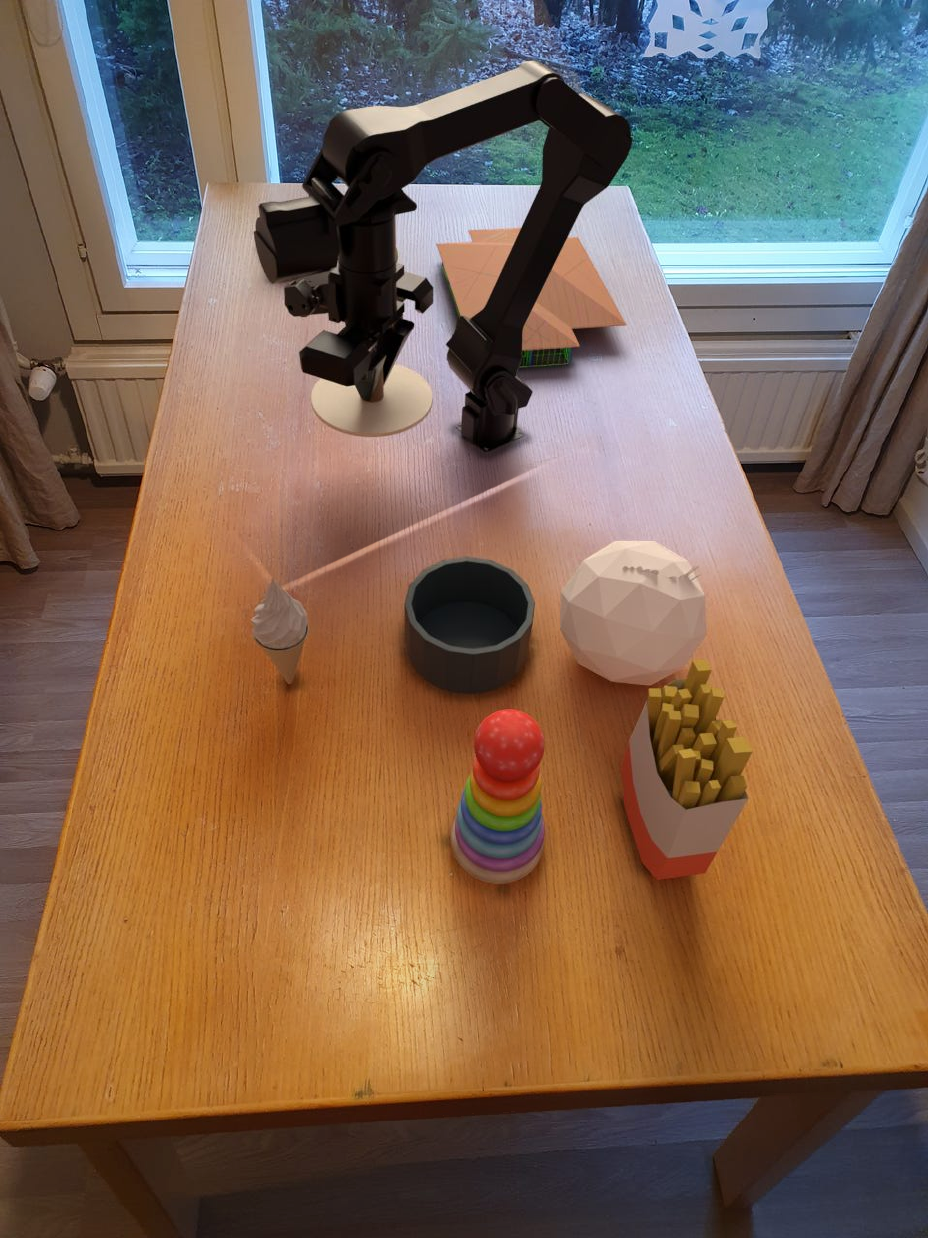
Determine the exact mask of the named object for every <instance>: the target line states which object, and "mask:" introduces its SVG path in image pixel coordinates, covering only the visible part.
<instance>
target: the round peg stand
mask: <svg viewBox="0 0 928 1238" xmlns="http://www.w3.org/2000/svg"><path fill="white" fill-rule="evenodd" d="M433 402H434V396H433V390H432V387H431V386H430V384H429V383H428V381H427V380H426V379H425V378H424V376H422V375H421V374H420V373H418V372H416V371H414V370H413V369H410V368H408V367H406V366H403V365H401V364H398V363H395V364H394V366H393V368H392V370H391V372H390V374H389V376H388V378H387V380H386V382H385V385H383V367H382V370H381V373H380V376H379V379H378V382H377V385H376V388H375V391H374V394H373V396H372V399H371V400H370V401H366V400H363V399H361V397H360V395H359V393H358V391H357V389H356V387H355V385H354V386H348V387H346V386H343V385H340V384H337V383H334V382H331V381H328V380H325V379H322V378H318V380H317V381H316V382H315V384H314V386H313V387H312V390H311V393H310V403H311V404H310V405H311V407H312V410H313V412H314V414H315V416H316V417H317V418H318V419H319V420H320V421H321V422H322V423H323V424H324V425H326V426H327V427H329V428H331V429H333V430H335V431H337V432H340V433H342V434H346V435H349V436H353V437H361V438H382V437H390V436H394V435H398V434H401V433H404V432H407V431H409V430H411V429H413V428H414V427H417V426H418V425H419V424H420V423H422V422H424V420H425V419H426V418H427V416H428V415H429V414H430V412H431V410H432V408H433Z"/></svg>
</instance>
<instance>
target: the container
mask: <svg viewBox="0 0 928 1238" xmlns="http://www.w3.org/2000/svg"><path fill="white" fill-rule="evenodd" d="M535 609H536V601H535V599H534V596H533V594H532V591H531V589H530V587H529V584H528V583H527V582H526V581H525V580H524V579H523V578H522V577H521V576H520V575H519V574H517V572H516V571H514V570H513V569H511V568H510V567H507V566H506V565H503V564H502V563H499V562H497V561H495V560H491V559H487V558H479V557H472V556H461V557H455V558H448V559H442V560H440V561H438V562H436V563H434V564H432V565H430V566H427V567H426V568H424V569H423V570H421V572H420V573H419V574H418V575H417V576H416V577H415V578H414V579H413V580H412V581H411V582H410V584H409V585H408V589H407V593H406V596H405V600H404V645H405V649H406V650H405V651H406V655H407V658H408V661H409V663H410V665H411V666H412V668H413V669H414V671H415V672H416V674H418V676H420V677H421V678H422V679H423V680H425V681H426V682H427V683H428V684H430V685H432V686H434V687H435V688H438V689H440V690H443V691H446V692H448V693H453V694H457V695H458V694H459V695H479V694H485V693H489V692H493V691H495V690H498V689H500V688H502V687H504V686H506V685H507V684H509V683H510V682H512V680H514V679H515V678H516V677H517V676H518V674H519V673H520V672H521V671H522V670H523V667H525V664H526V662H527V660H528V654H529V649H530V643H531V642H530V641H531V636H532V629H533V624H534V616H535Z"/></svg>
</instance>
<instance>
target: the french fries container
mask: <svg viewBox="0 0 928 1238" xmlns="http://www.w3.org/2000/svg"><path fill="white" fill-rule="evenodd" d="M712 671H713V670H712V668H711V665H710V663H709V662H708V660H707V659H695V660H691V664H690V667H689V669H688V672H687V675H686V677H685V678H676V679H673V680H672V681H670V682H669V683H668V684H666V685H663V687H662V688H653V687H652V688H650V687H649V688H648V692H647V693H648V694H647V700H646V702H645V703H644V706H643V708H642V710H641V713H640V715H639V718H638V719H637V722H636V724H635V726H634V728H633V731H632V733H631V735H630V737H629V739H628V740H629V741H628V743H627V746H626V748H625V752H624V755H623V758H622V761H621V763H620V771H621V781H622V795H623V796H622V797H623V806H624V809H625V813H626V816H627V820H628V822H629V826H630V829H631V833H632V835H633V838H634V841H635V842H634V843H635V845H636V849H637V852H638V856H639V858H640V862H641V863H642V864H643V866H644V867H645V868H646V869H647V870H648V872H649V873H650V874H651V875H652V876H653V877H654V878H655V879H656V881H661V880H665V879H666V880H667V879H674V878H681V877H689V876H696V875H704V874H706V873H707V871H708V869H709V867H710V866H711V864H712V862H713V860H714V859H715V857H716V856H717V854H718V852H719V850H720V848H721V847H722V845H723V843H724V842H725V840H726V839H727V837H728V835H729V833H730V832H731V830H732V828H733V827H734V824H735V823H736V821H737V819H738V818H739V817H740V814H741V812H742V811H743V809H744V807H745V806H746V804H747V802H748V801H749V799H750V798H749V796H748V793H747V791H746V790H747V789H748V784H747V781H746V778H745V776H744V775H743V774H742V773H743V772H744V770H745V768H746V766H747V763H748V762H749V760H750V758H751V756H752V754H753V749H752V747H751V745H750V744H749V742H748V740H747V738H746V737H745V736H739V737H737V736H736V737H735V735H736V732H737V729H738V726H737V725H736V723H735V722H734V720H733V719H728V720H724V719H723V718H720V719H717V716H718V714H719V712H720V709H721V707H722V704H723V702H724V699H725V693H724V689H723V688H716V687H713V686H712V684H711V683H708V681H709V678H710V676H711V673H712Z"/></svg>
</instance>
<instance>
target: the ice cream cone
mask: <svg viewBox="0 0 928 1238" xmlns="http://www.w3.org/2000/svg"><path fill="white" fill-rule="evenodd" d="M270 579H271V580H270V583H269V584H268V587H267V588H266V591H265V592H264V593H263V594H262V596H263V597H264V598H263V599H262V600H261V601H260V602H259V604H258V605H256V607H254V610H253V611H254V613H257V614H256V615H254V616H252V618H250V621H251V623H253V627H252V637H253V640H254V642H255V643H256V644H257V645H258V646H259V647H260V648H261V649H262V650H263V652H264V653H265V654H266V656H267V657H268V658H269V660H270V661H271V663H272V664H273V665H274V667H275V668H276V670H277V671H278V672H279V674H280V675H281V676H282V678H283V679H284V680H285V681H286V683H287V685H292V684H293V682H294V679H295V676H296V672H297V670H298V669H297V668H298V665H299V662H300V658H301V655H302V652H303V648H304V644H305V641H306V639H307V637H308V635H309V632H310V631H309V630H310V625H309V621H308V613H307V611H306V610H305V607H303V605H302V602H301V601H299V600H297V599H295V598H293V597H292V595H291V594H290V593H288V592H287V590H286V589H284V588H283V587H282V586H281V585H280V584H279V583H278V581H276V580H275V579H274V577H271V578H270Z"/></svg>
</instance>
